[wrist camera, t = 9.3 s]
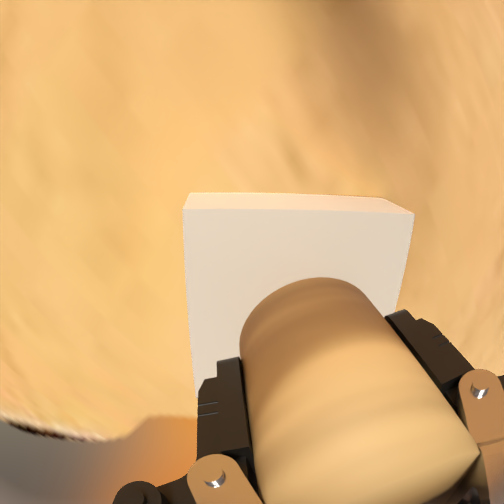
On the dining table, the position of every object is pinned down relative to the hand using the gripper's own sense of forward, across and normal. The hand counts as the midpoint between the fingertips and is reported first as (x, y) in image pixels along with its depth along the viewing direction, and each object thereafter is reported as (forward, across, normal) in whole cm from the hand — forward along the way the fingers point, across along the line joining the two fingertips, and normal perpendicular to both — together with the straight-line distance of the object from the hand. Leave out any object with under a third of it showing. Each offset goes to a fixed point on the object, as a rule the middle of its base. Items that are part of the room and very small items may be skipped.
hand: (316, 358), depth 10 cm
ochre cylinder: (+1, 0, 0) cm, 1 cm away
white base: (+6, 0, 0) cm, 6 cm away
